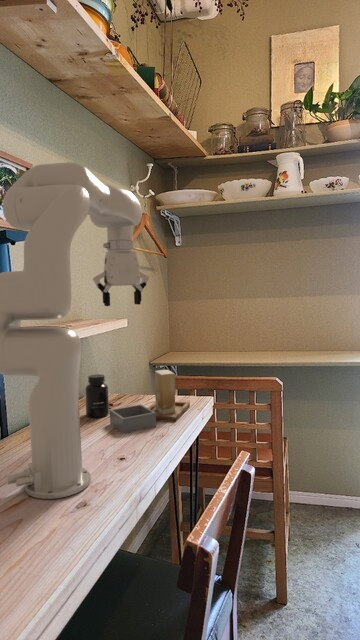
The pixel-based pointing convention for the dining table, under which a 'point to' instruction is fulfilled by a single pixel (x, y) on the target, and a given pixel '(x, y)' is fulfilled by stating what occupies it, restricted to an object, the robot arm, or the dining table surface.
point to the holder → (132, 418)
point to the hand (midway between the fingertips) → (122, 305)
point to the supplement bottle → (96, 397)
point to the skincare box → (165, 391)
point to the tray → (173, 417)
